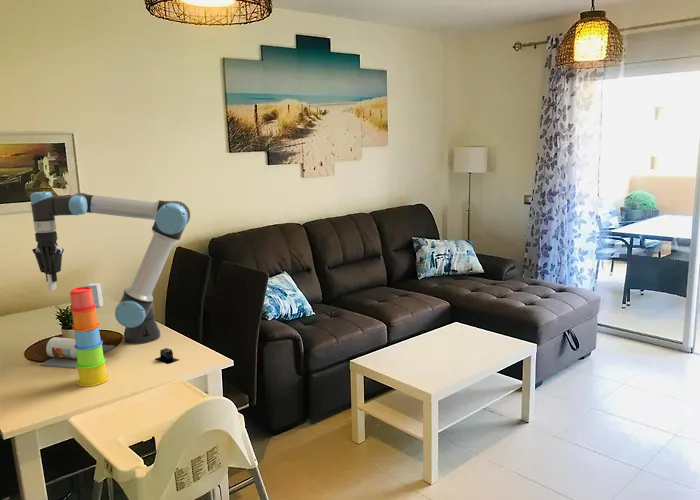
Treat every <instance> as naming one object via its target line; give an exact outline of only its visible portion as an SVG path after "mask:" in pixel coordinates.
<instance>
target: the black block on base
mask: <svg viewBox="0 0 700 500" xmlns="http://www.w3.org/2000/svg"><path fill="white" fill-rule="evenodd" d="M159 353H160V355H159V357H157V358H154V360H155V361H158V362H161V363H164V364H165V365H170V364H173V363H175V362H178V361H180V359H178V358H176V357H174V353H173V350H172V349H171V348H168V347H166V348H163V349H160V352H159Z"/></svg>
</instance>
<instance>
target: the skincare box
mask: <svg viewBox="0 0 700 500" xmlns="http://www.w3.org/2000/svg"><path fill="white" fill-rule="evenodd" d="M85 287H90V289H91V290H92V295H93V301H94V305H96V308H101V307H103V306H104V298H103V293H102V285H101V283H88V284H86V286H85Z"/></svg>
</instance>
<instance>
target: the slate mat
mask: <svg viewBox="0 0 700 500" xmlns="http://www.w3.org/2000/svg"><path fill="white" fill-rule="evenodd" d="M115 347H116V345H111V344H109V345H108V344H102V350H103V354H105V353H106V352H108V351H110V350H112V349H115ZM77 362H78V361H77V359H72V358H61V357H52V358H50V359H48V360H46V361H44V362H42V363H40V364H39V366H41V367H53V368H54V367H55V368H64V369H78V367H77V366H76V363H77Z"/></svg>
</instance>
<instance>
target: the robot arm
mask: <svg viewBox="0 0 700 500" xmlns="http://www.w3.org/2000/svg"><path fill="white" fill-rule="evenodd" d="M30 206H31V213H32V219H33V220H32V221H33V227H34V231H35V233H34V236H35V237H34V238H35V242H36V243H37V244H36V247H34V248H32V250H31V251H32V253H33V254H34V256H35V258H36V262H37V264H38V268H39V270H40V273H44V275H45V280H46V282H47V284H48V286H47V287H48V291H55V290H58V286H57V282H58V275H57V273H60V272H61V271H62V261H63V260H62V258H63V253H64V248H61V247H59V245H58V243H57V241H58V233H57V225H56V217H57V216H79V215H82V216H83V215H85V214H86V213H87V214H97V215H98V214H99V215H108V216H115V217H124V218H134V219H140V220H141V219H143V220H151V221H154V223H153V225H152V227H151V231H152V237H151V239H150V242H149V245H148V246H147V248H146V251H145V253H144V256H143V257H142V260H141V263H140V264H139V268H138V270H137V272H136V274H135V276H134V278H133V282H132V284H131V285H130V286H129V287H127V288H125V289H123V294H122V297H121V299H120V302H119V303H118V304H117V305H116V306H115V309H114V310H115V311H114V317H115V320H116V321H117V322H118V323H119V324H120V325H121V326H123V327H125V329H124V333H123V342H125V343H127V344H145V343H150V342H154V341H157V340H158V339H159V338H160V337H161V331H160V328H159V326H158V324H157V322H156V319H155V307H154V296H153V294H154V293H153V292H154V290H155V287H156V285H157V283H158V280H159V278H160V276H161V273H162V271H163V268H164V266H165V263H166V261H167V260H168V257H169V255H170V253H171V250H172V249H173V246H174V244H175V243H176V242H179V241H180V239H181V236H182V235H183V232H184V230H185V228H186V226H187V225H188V223H189V221H190V220H191V219H190V218H191V211H190V209H189V207H188V206H187V205H186V203H183V202H182V201H178V200H158V201H155V202H154V201H148V200H147V201H146V200H138V199H129V198H122V197H121V198H120V197H112V196H104V195H94V194H93V195H92V194H87V193H85V192H77V193H74V194H71V195H65V196H54V195H53V193H52V191H35V192H32V193H31V194H30Z"/></svg>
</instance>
